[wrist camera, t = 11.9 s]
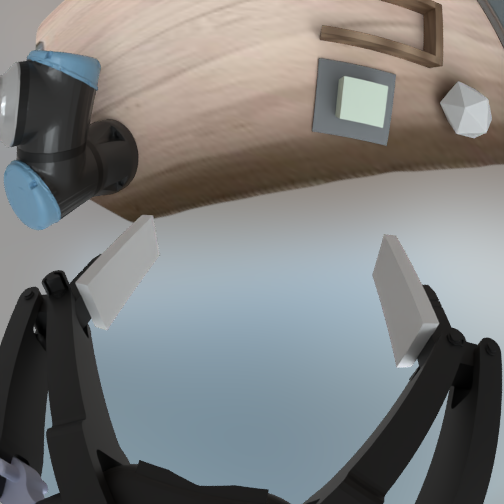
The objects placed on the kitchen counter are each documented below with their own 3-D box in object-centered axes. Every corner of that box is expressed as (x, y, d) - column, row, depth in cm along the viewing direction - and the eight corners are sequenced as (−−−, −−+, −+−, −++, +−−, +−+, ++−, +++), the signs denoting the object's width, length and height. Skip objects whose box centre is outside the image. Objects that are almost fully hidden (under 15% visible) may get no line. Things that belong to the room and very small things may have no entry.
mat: (312, 130, 39) (312, 131, 38) (318, 58, 32) (319, 58, 32) (385, 145, 37) (386, 145, 37) (394, 74, 31) (395, 74, 30)
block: (335, 116, 36) (339, 118, 31) (338, 79, 33) (344, 76, 28) (372, 123, 35) (382, 127, 30) (377, 87, 32) (388, 86, 27)
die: (422, 106, 33) (458, 149, 28) (442, 64, 25) (486, 104, 20) (452, 114, 34) (485, 155, 29) (472, 78, 26) (510, 117, 21)
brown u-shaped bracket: (320, 39, 30) (322, 32, 26) (322, -17, 24) (324, -30, 20) (429, 68, 28) (442, 65, 24) (429, 11, 22) (441, 4, 18)
